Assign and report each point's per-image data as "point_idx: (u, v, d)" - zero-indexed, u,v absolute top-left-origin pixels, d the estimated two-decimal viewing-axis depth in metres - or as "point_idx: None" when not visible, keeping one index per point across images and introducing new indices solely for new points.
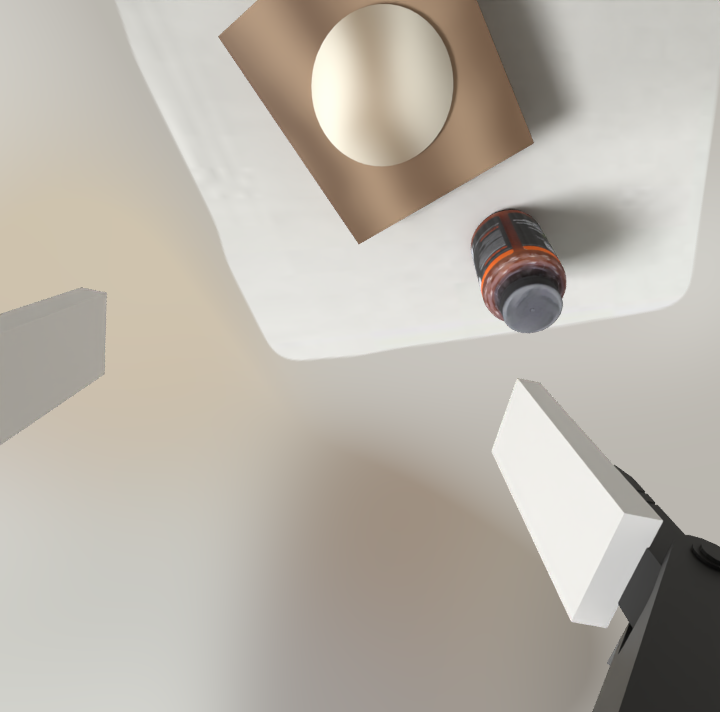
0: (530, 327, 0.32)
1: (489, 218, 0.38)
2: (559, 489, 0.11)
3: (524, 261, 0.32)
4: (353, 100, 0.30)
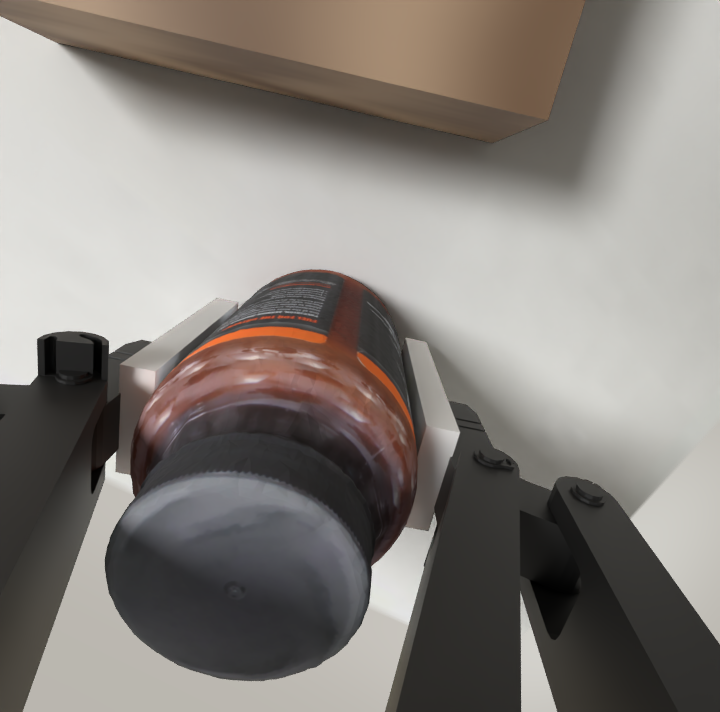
0: (186, 646, 0.07)
1: (323, 271, 0.15)
2: None
3: (335, 392, 0.08)
4: None
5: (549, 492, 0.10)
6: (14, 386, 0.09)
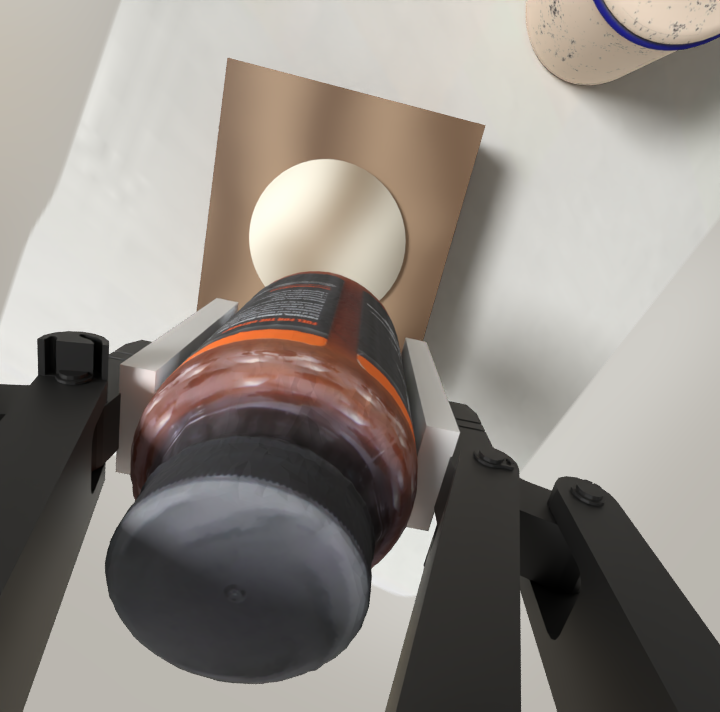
0: (187, 649, 0.07)
1: (323, 273, 0.15)
2: None
3: (335, 395, 0.08)
4: (299, 226, 0.26)
5: (549, 492, 0.10)
6: (14, 386, 0.09)
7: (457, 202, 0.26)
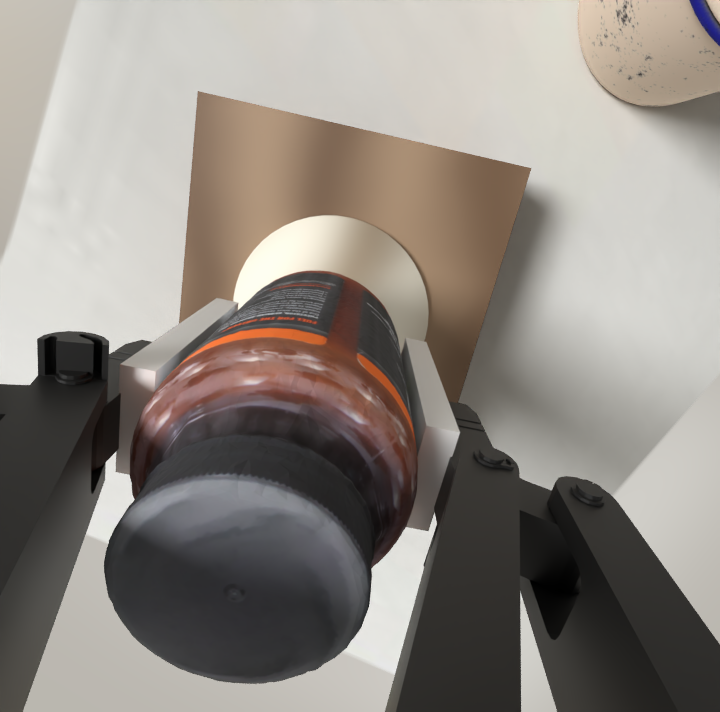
0: (186, 649, 0.07)
1: (323, 272, 0.15)
2: None
3: (335, 394, 0.08)
4: None
5: (549, 492, 0.10)
6: (14, 386, 0.09)
7: (494, 264, 0.21)
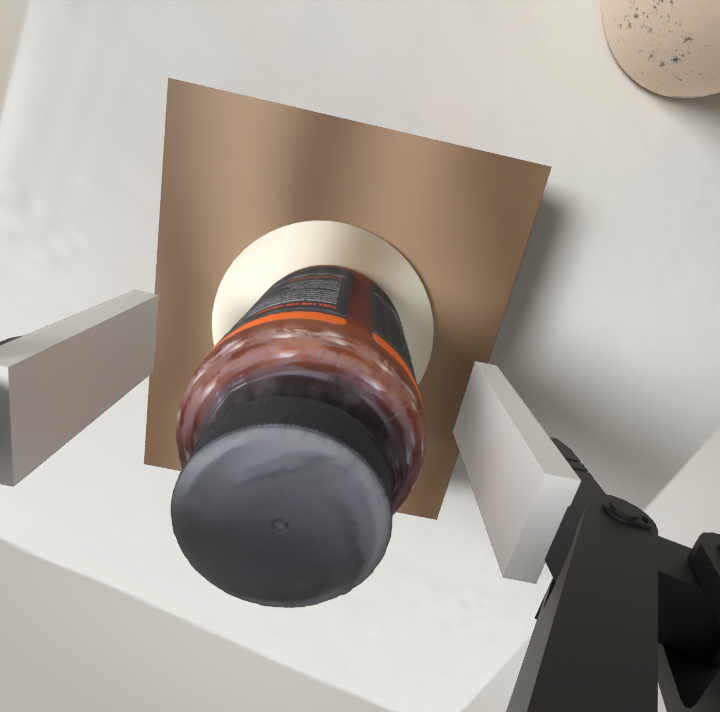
0: (237, 577, 0.09)
1: (333, 266, 0.17)
2: (500, 459, 0.12)
3: (357, 365, 0.10)
4: None
5: None
6: None
7: (508, 275, 0.18)
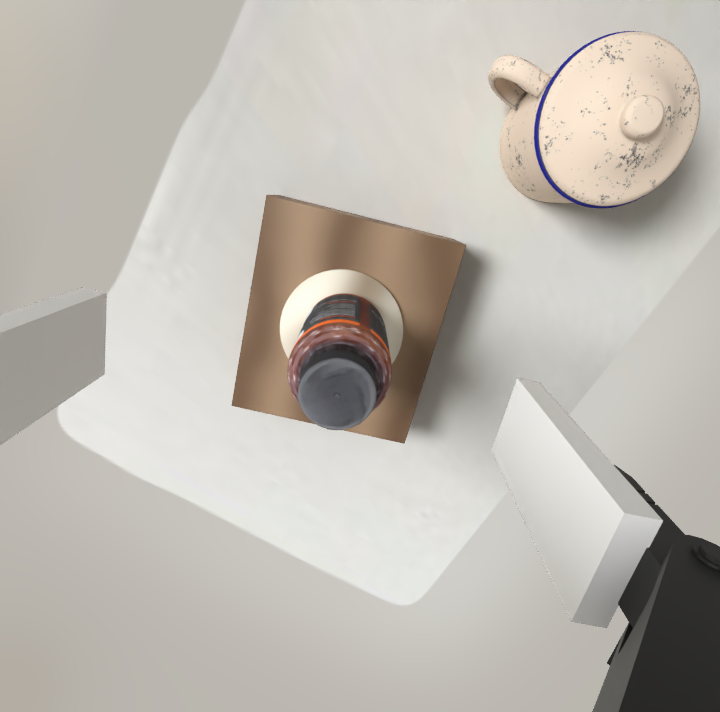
0: (319, 415, 0.23)
1: (349, 294, 0.32)
2: (559, 489, 0.11)
3: (364, 341, 0.24)
4: None
5: None
6: None
7: (444, 301, 0.33)
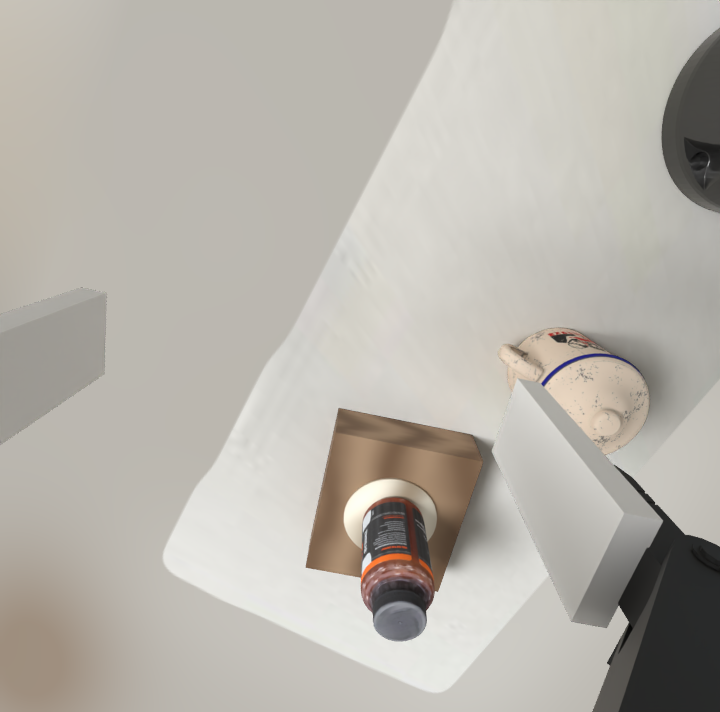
0: (388, 634, 0.34)
1: (397, 500, 0.43)
2: (559, 489, 0.11)
3: (416, 576, 0.35)
4: None
5: None
6: None
7: (467, 497, 0.44)
